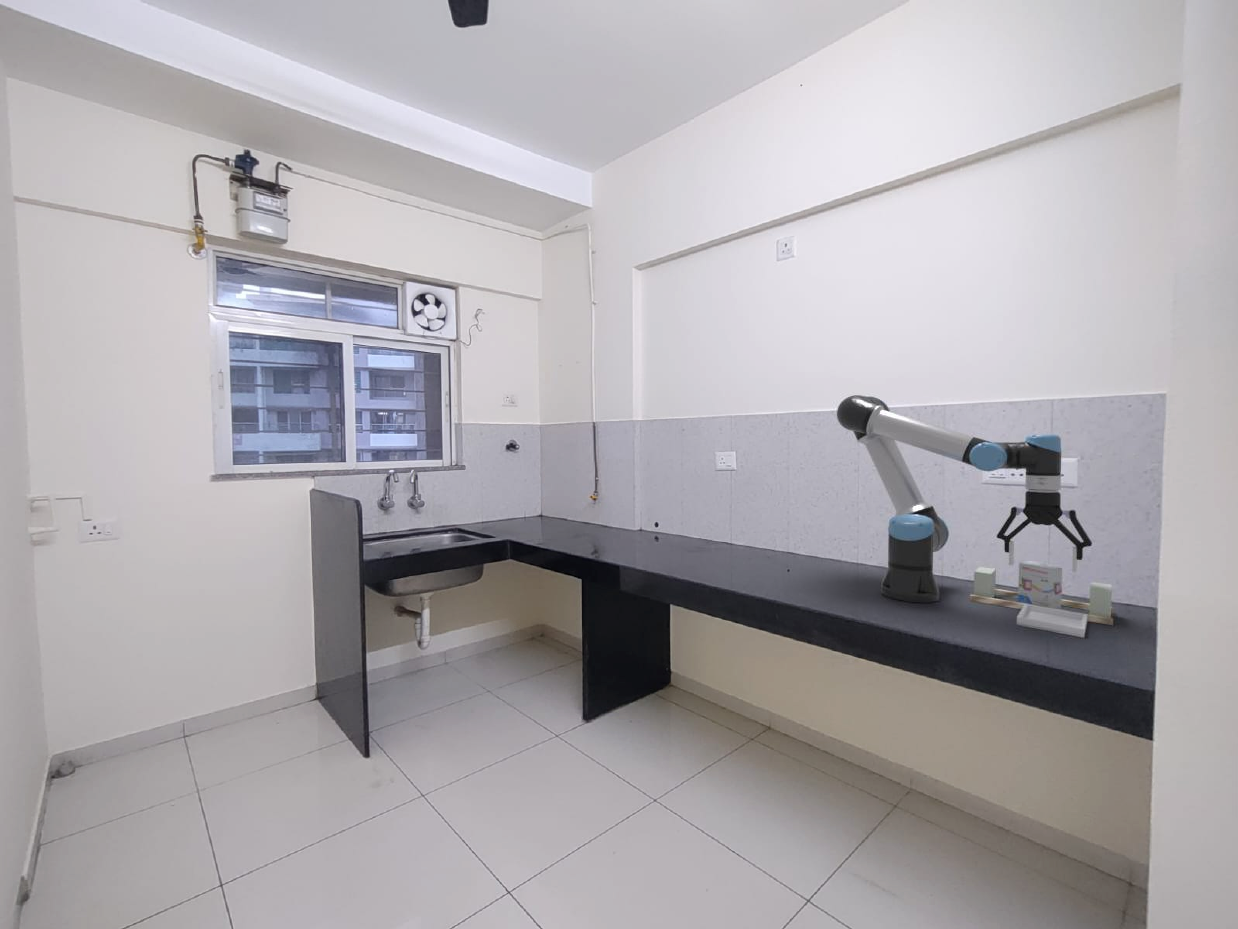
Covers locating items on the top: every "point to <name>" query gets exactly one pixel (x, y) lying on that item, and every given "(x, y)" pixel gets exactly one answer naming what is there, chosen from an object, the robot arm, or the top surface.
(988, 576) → the block
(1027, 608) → the tray
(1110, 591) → the block
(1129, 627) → the top surface
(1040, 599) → the ink box
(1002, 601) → the rail rack
